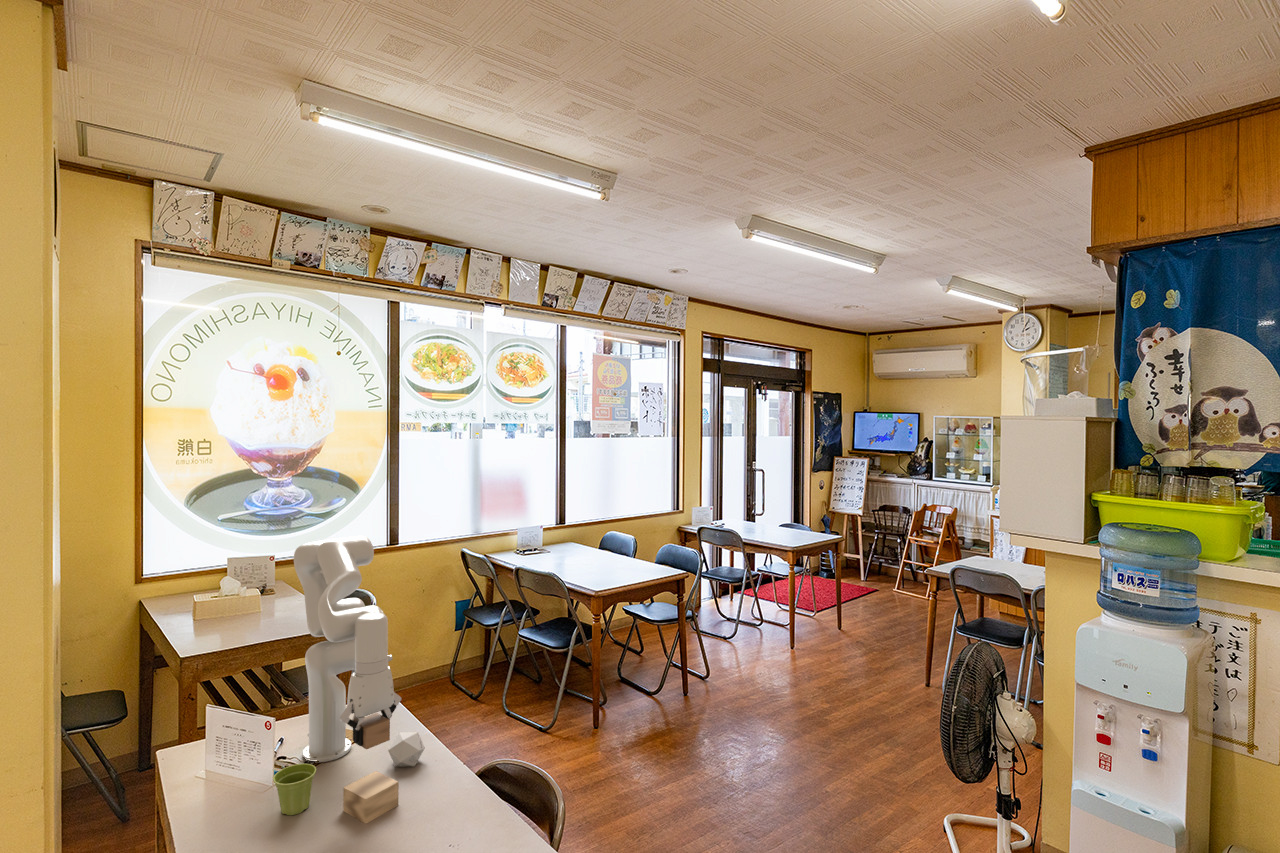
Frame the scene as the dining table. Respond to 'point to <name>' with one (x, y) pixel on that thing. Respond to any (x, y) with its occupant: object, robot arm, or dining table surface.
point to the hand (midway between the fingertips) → (371, 738)
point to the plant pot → (294, 787)
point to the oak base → (370, 796)
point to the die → (406, 749)
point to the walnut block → (375, 730)
